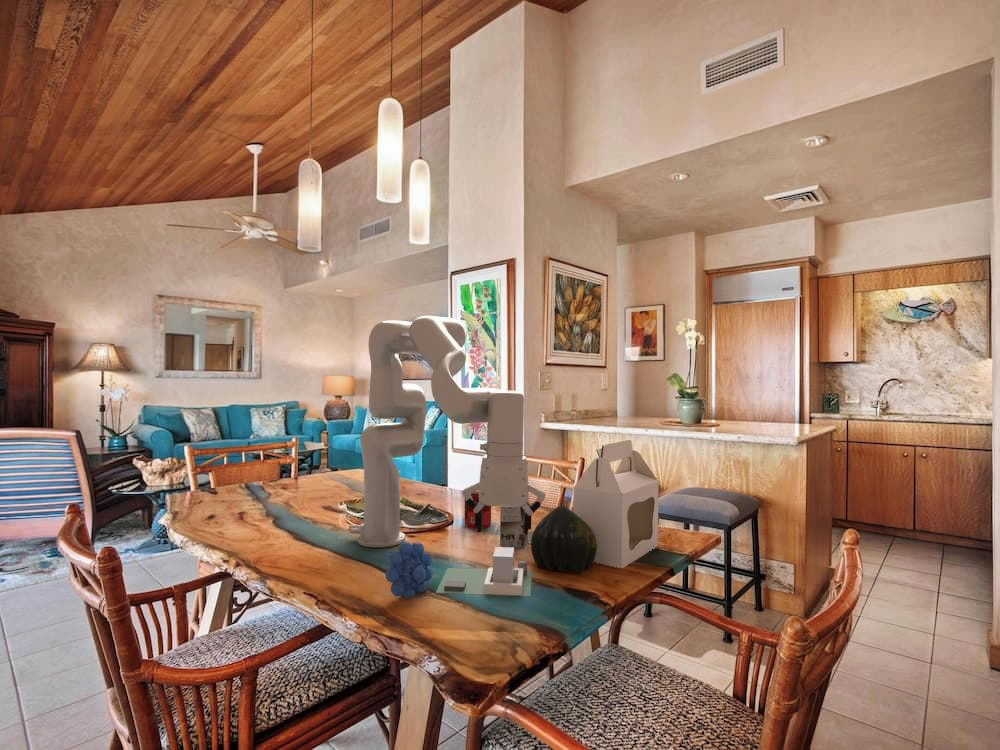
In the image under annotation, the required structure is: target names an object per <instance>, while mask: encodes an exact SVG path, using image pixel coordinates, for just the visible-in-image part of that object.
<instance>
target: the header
mask: <svg viewBox="0 0 1000 750" xmlns="http://www.w3.org/2000/svg"><path fill="white" fill-rule="evenodd" d="M514 579H517V583H495V582H492V580H493V566H492V567H489V566H488V572H487V576H486V579H485V583H484V594H495V595H494V596H502V595H522V587H523V568H518V567H514Z"/></svg>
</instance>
